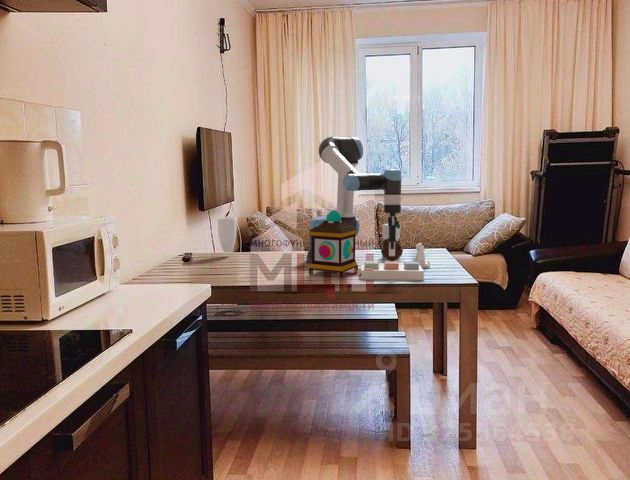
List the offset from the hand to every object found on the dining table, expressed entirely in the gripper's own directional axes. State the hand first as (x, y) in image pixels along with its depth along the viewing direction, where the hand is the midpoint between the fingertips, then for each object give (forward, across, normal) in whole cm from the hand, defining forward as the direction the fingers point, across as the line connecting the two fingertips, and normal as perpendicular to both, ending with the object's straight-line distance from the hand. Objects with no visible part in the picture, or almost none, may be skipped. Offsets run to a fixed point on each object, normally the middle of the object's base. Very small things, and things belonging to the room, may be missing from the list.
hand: (391, 255), depth 258 cm
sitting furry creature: (+10, +25, -16) cm, 32 cm away
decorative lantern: (+10, +5, +27) cm, 29 cm away
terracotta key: (+8, 0, 0) cm, 8 cm away
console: (+10, 0, 0) cm, 10 cm away
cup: (+9, +50, +87) cm, 101 cm away
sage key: (+8, 0, +9) cm, 12 cm away
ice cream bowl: (+10, +19, -1) cm, 22 cm away
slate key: (+8, 0, -9) cm, 12 cm away
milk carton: (+9, +53, -3) cm, 54 cm away
